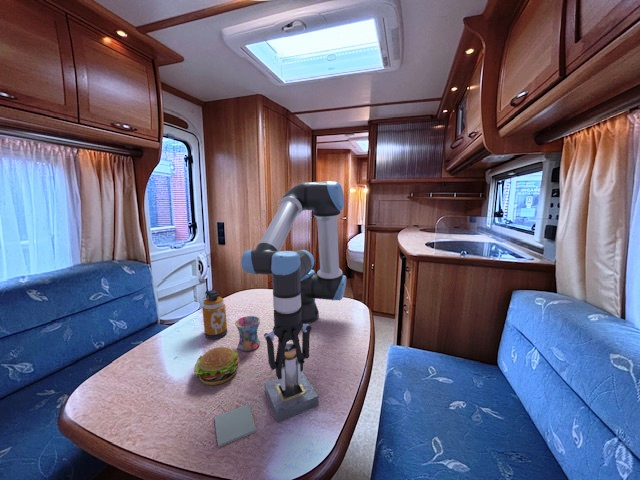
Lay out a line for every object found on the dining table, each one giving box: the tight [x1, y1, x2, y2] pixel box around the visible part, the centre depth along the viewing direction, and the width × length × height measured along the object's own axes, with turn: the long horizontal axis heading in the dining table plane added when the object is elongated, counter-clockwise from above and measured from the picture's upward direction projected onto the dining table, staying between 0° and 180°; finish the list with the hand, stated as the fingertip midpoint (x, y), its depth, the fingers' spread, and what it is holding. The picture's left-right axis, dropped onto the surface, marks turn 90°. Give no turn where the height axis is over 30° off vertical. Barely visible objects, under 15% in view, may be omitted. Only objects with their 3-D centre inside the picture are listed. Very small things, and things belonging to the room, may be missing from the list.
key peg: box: [282, 343, 299, 399], centre depth 73 cm, size 4×4×16 cm
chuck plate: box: [264, 371, 319, 423], centre depth 75 cm, size 12×12×3 cm
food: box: [193, 346, 240, 386], centre depth 85 cm, size 14×14×8 cm
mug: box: [234, 315, 261, 352], centre depth 102 cm, size 12×9×11 cm
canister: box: [201, 288, 228, 340], centre depth 110 cm, size 9×11×20 cm
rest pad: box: [214, 404, 257, 448], centre depth 66 cm, size 9×9×1 cm
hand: (290, 384), depth 74 cm, fingers closed on key peg, 4 cm apart
